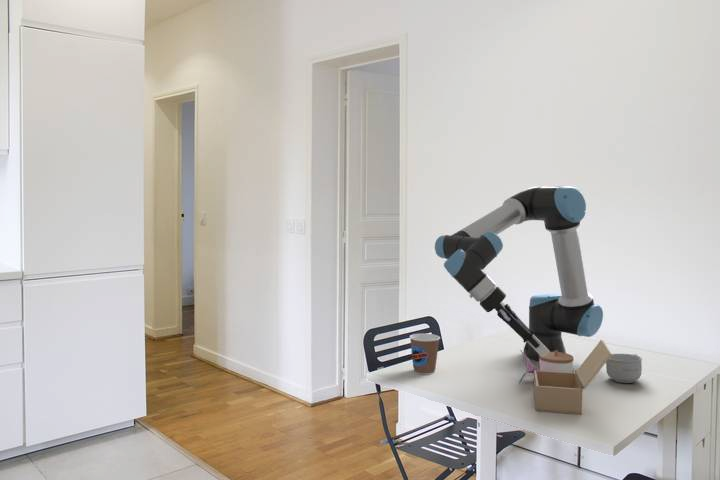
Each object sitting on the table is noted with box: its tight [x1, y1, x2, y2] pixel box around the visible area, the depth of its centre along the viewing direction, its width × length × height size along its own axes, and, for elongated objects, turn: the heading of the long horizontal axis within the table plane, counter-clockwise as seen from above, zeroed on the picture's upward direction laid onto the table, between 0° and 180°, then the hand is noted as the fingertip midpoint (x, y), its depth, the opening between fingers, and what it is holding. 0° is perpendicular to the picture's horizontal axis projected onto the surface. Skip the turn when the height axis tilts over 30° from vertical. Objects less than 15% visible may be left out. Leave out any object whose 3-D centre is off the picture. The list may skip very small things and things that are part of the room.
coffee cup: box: [409, 333, 441, 375], centre depth 208 cm, size 10×10×12 cm
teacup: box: [605, 353, 643, 384], centre depth 199 cm, size 14×11×8 cm
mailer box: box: [533, 370, 584, 415], centre depth 176 cm, size 12×16×7 cm
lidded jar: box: [538, 350, 574, 373], centre depth 200 cm, size 11×11×9 cm
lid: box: [574, 339, 613, 390], centre depth 174 cm, size 12×16×1 cm
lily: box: [518, 349, 541, 384], centre depth 196 cm, size 12×12×10 cm
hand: (545, 354), depth 176 cm, fingers closed
